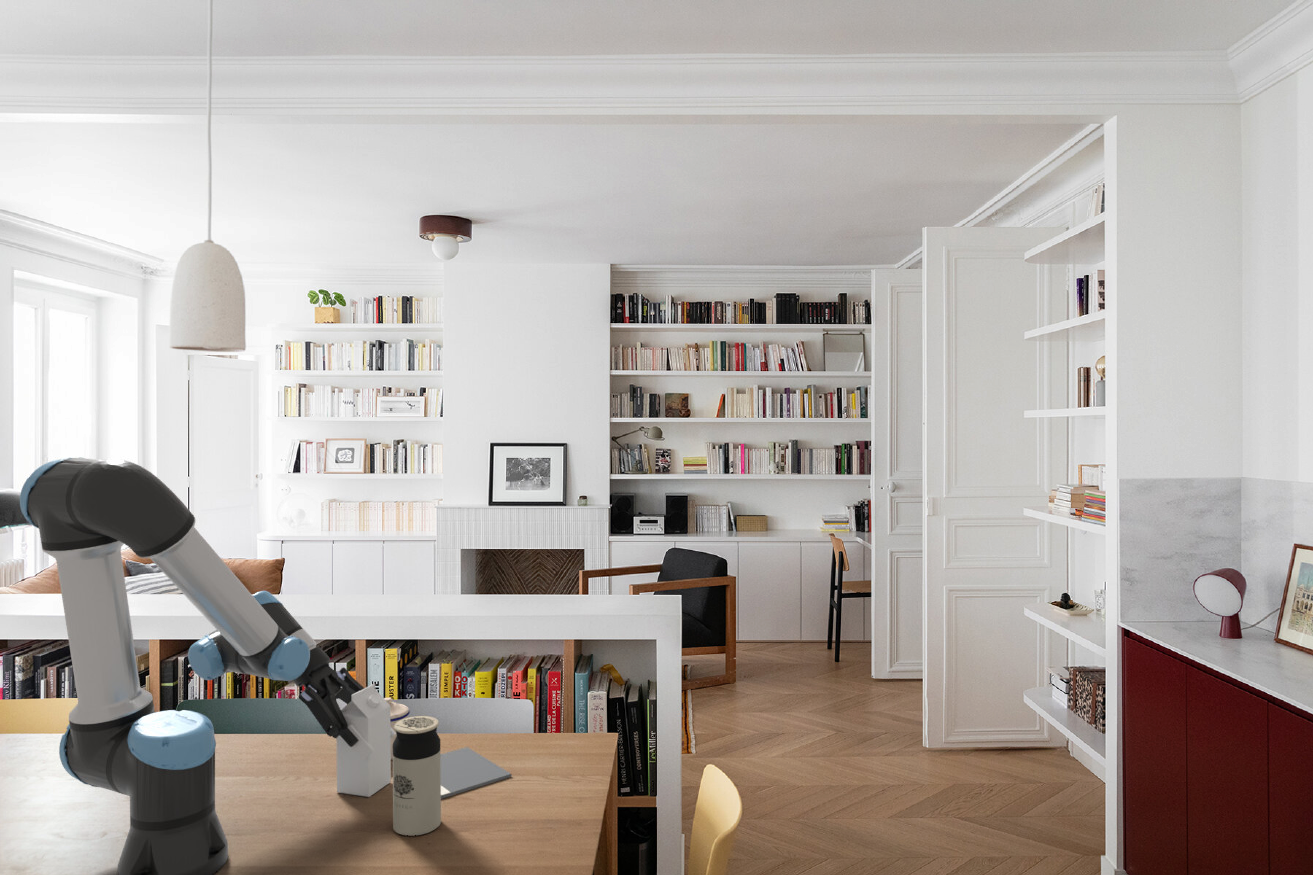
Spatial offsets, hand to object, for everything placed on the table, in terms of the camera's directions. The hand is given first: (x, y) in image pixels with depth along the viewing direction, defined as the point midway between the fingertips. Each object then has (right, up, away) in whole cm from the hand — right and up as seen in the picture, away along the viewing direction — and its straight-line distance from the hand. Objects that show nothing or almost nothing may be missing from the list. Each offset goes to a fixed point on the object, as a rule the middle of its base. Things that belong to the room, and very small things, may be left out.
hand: (380, 746), depth 162 cm
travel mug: (+11, -9, -15) cm, 20 cm away
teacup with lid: (-4, -8, +16) cm, 18 cm away
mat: (+12, -8, +7) cm, 16 cm away
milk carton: (-3, -8, +1) cm, 9 cm away
